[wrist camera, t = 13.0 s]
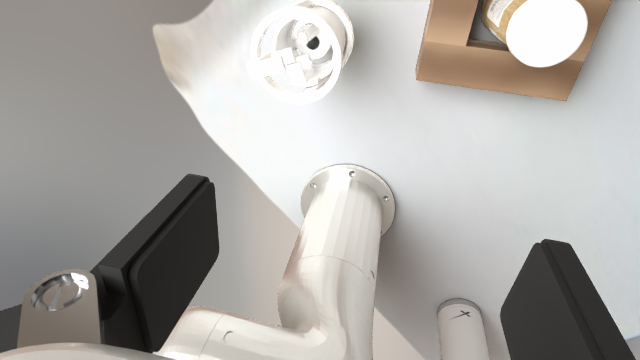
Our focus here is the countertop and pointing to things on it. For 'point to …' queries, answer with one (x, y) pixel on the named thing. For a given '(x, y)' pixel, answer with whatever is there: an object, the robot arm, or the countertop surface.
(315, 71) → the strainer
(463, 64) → the walnut socket block
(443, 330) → the travel mug
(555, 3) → the sprinkles bottle
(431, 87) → the countertop surface
